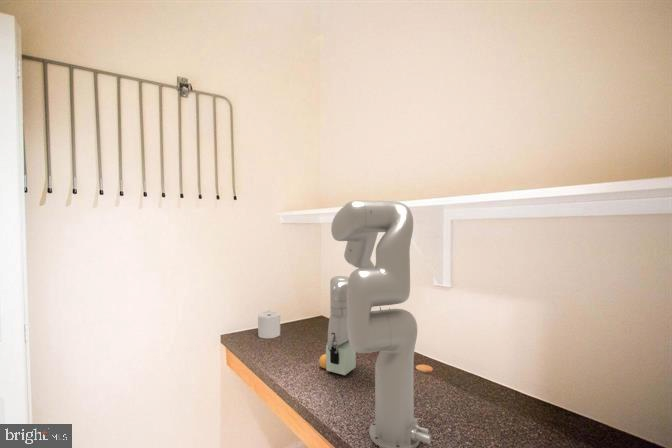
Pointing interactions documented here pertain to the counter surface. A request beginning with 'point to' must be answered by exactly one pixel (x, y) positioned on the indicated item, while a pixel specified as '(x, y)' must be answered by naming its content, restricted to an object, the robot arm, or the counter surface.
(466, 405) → the counter surface
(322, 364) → the ball
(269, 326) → the toilet tissue
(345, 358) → the pale sage cube
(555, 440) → the counter surface
